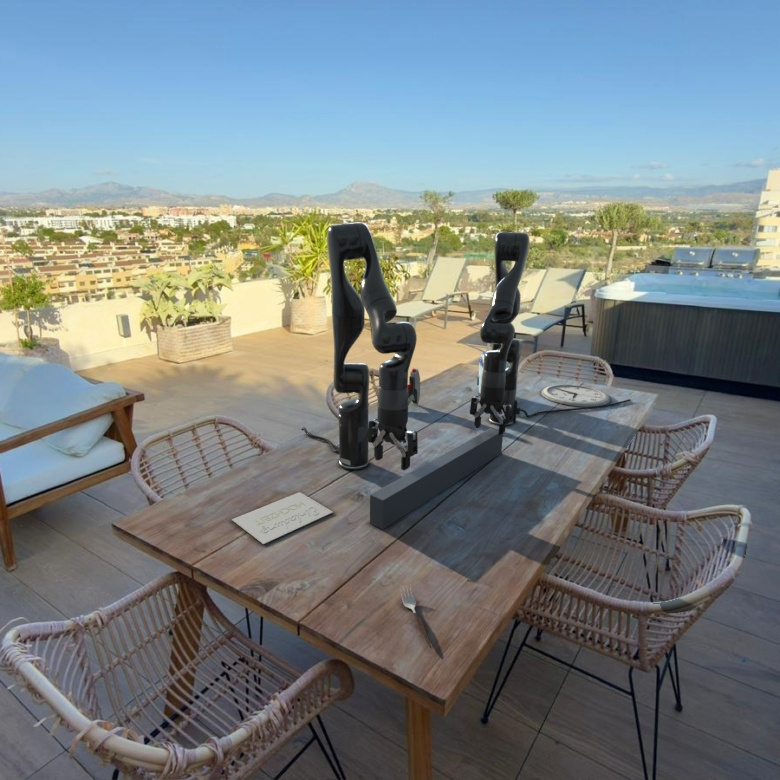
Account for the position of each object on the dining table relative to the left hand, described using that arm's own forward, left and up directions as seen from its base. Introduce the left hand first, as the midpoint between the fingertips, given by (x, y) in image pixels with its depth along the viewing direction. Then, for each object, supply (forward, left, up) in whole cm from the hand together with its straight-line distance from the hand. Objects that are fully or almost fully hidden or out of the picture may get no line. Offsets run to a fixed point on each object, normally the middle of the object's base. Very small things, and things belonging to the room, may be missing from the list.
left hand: (391, 464), depth 133 cm
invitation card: (-9, -26, -15) cm, 32 cm away
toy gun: (-79, +37, -15) cm, 89 cm away
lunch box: (-79, +77, -15) cm, 111 cm away
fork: (+37, -8, -15) cm, 41 cm away
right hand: (-25, +44, -6) cm, 51 cm away
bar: (-13, +22, -15) cm, 30 cm away
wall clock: (-71, +117, -15) cm, 137 cm away
